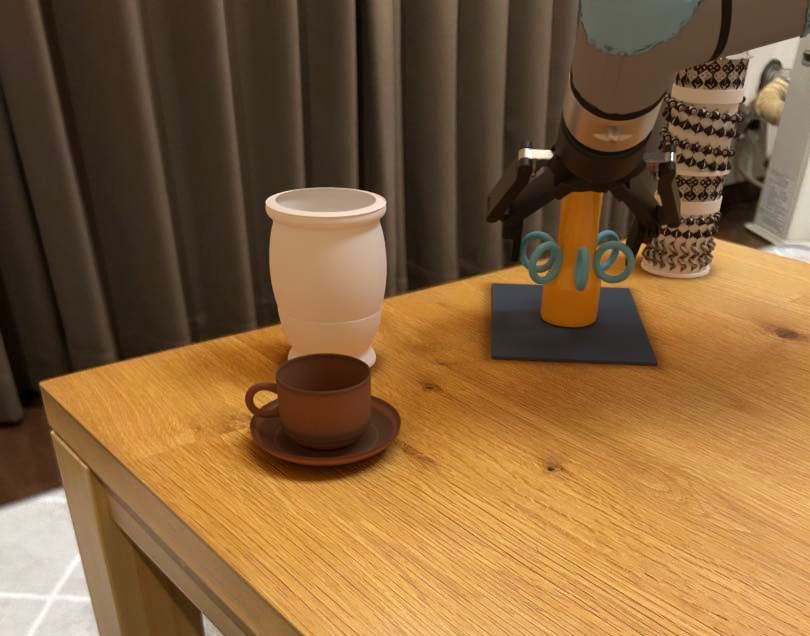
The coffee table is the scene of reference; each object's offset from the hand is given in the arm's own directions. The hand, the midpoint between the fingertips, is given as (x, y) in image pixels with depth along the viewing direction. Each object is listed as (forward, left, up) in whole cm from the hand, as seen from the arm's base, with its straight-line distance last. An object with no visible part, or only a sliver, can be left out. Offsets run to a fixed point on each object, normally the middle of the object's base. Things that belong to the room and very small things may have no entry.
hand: (571, 252), depth 91 cm
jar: (+5, +28, -7) cm, 29 cm away
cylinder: (-2, +2, -6) cm, 7 cm away
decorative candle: (+2, -23, -7) cm, 24 cm away
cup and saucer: (-8, +38, -7) cm, 39 cm away
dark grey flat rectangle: (-2, +2, -7) cm, 7 cm away
